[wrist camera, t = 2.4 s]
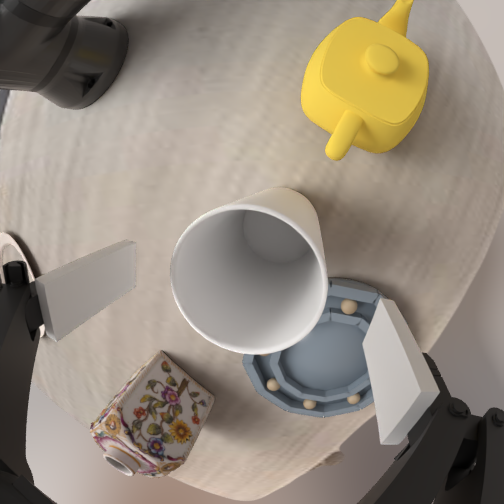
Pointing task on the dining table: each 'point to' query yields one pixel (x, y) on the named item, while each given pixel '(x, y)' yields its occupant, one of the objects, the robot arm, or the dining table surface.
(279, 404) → the tray
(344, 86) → the teapot
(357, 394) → the beads
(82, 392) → the dining table surface
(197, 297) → the cup
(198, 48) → the dining table surface
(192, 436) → the decorative jar
